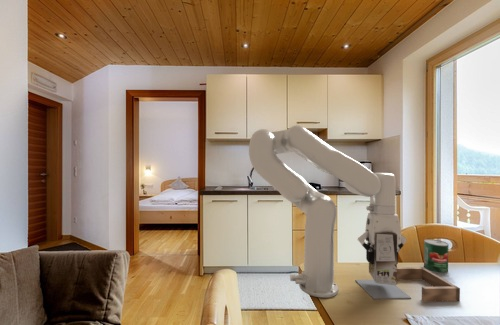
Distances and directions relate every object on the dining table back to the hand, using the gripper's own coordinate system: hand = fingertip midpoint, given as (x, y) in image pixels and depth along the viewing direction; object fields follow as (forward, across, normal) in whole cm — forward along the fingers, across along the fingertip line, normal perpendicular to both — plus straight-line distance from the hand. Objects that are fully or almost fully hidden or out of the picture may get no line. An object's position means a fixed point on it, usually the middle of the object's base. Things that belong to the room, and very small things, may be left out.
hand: (382, 262), depth 84 cm
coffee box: (+6, 0, 0) cm, 6 cm away
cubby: (+9, +14, 0) cm, 17 cm away
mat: (+9, 0, 0) cm, 9 cm away
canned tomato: (+9, +31, +15) cm, 36 cm away
